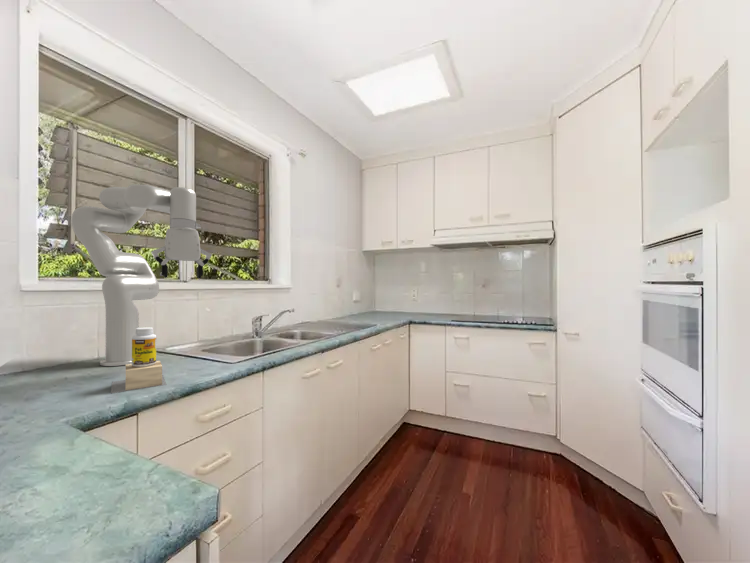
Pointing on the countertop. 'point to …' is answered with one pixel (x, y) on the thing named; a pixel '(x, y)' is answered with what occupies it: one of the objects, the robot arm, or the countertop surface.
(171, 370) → the countertop surface
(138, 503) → the countertop surface
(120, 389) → the slate tile
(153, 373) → the maple block
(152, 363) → the supplement bottle
